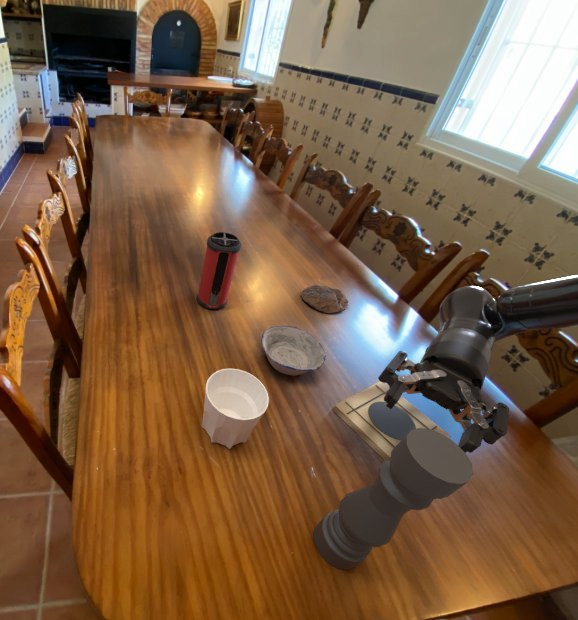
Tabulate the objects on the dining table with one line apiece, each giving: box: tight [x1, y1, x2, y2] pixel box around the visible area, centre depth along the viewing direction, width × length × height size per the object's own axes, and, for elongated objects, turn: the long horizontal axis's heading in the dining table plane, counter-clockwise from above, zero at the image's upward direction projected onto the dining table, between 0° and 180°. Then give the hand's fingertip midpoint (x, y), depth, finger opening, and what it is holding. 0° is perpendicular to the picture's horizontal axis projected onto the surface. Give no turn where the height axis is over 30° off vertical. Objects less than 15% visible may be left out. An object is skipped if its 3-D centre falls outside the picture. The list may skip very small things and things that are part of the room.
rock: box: [300, 284, 349, 314], centre depth 94 cm, size 11×12×3 cm
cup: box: [200, 367, 270, 450], centre depth 60 cm, size 10×10×10 cm
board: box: [332, 380, 452, 462], centre depth 66 cm, size 14×14×2 cm
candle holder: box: [312, 428, 474, 571], centre depth 42 cm, size 6×6×25 cm
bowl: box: [261, 325, 327, 377], centre depth 75 cm, size 13×13×5 cm
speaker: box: [196, 231, 242, 310], centre depth 86 cm, size 8×8×18 cm
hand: (426, 425), depth 45 cm, fingers open, 8 cm apart
